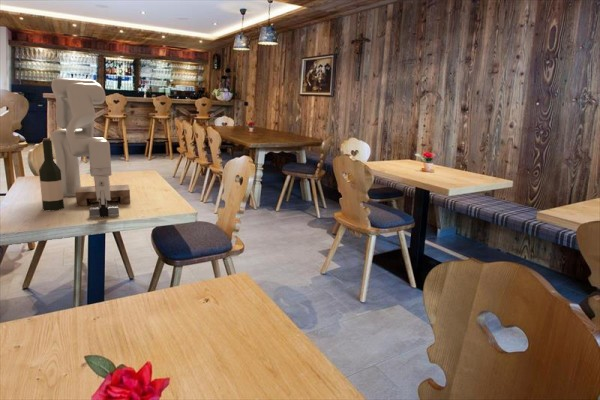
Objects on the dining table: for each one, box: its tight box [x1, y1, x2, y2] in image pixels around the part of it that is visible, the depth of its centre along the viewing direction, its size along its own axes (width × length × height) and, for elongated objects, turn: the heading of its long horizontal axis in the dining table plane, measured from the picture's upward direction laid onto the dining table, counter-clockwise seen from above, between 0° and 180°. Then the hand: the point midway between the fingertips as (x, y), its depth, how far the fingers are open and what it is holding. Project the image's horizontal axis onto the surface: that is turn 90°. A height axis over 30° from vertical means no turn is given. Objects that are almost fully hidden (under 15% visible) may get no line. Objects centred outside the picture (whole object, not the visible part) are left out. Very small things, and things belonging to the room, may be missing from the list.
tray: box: [88, 203, 120, 219], centre depth 187 cm, size 11×16×4 cm
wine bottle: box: [38, 137, 65, 211], centre depth 186 cm, size 8×8×30 cm
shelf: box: [75, 184, 131, 208], centre depth 202 cm, size 22×12×6 cm, turn 114°
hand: (104, 216), depth 176 cm, fingers closed
